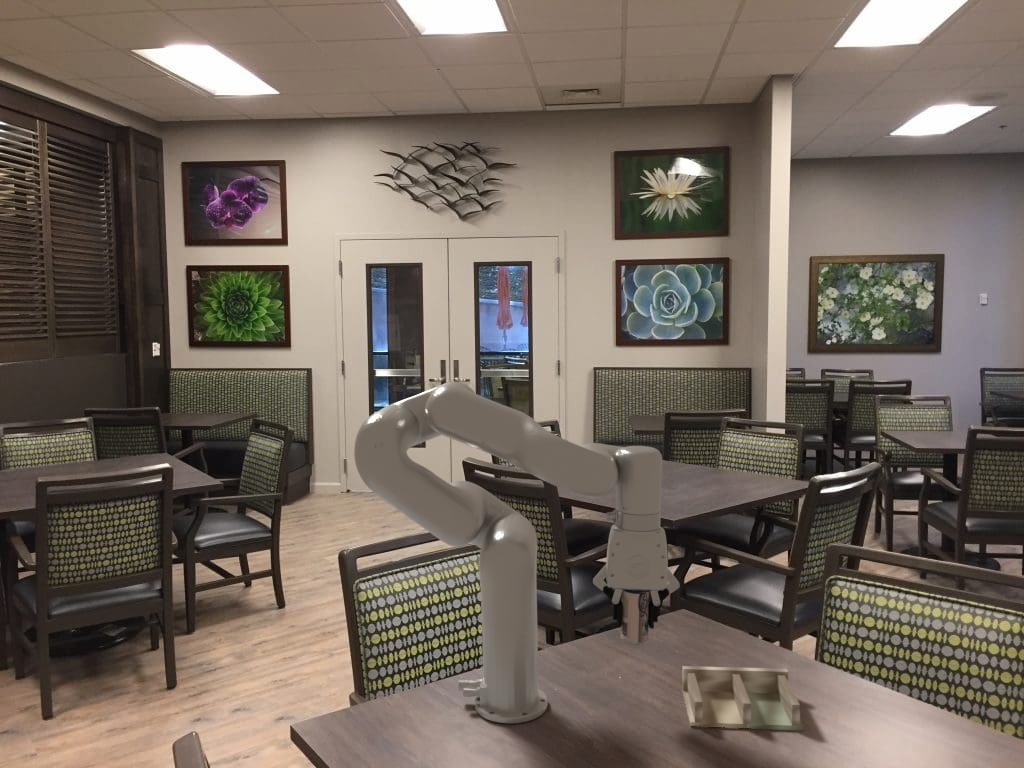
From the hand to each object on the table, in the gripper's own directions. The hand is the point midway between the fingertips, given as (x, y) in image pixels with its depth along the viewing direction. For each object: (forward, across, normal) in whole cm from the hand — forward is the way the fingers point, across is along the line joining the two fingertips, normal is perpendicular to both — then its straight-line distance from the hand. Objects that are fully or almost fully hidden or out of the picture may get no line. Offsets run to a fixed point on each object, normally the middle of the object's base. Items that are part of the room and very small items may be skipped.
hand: (634, 623), depth 137 cm
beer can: (+3, 0, 0) cm, 3 cm away
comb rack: (+14, +18, 0) cm, 23 cm away
